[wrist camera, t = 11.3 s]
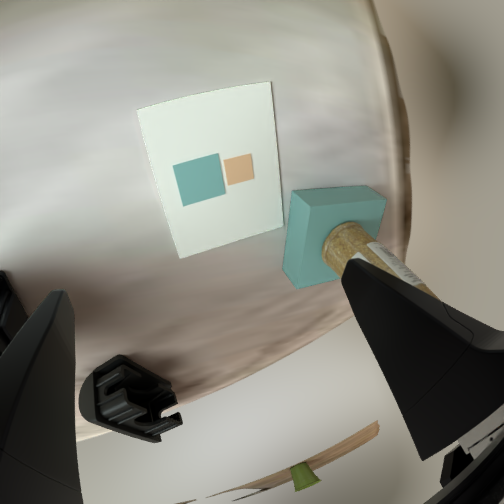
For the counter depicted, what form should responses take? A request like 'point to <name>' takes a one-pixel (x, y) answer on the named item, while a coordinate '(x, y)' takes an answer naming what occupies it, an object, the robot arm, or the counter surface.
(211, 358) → the counter surface
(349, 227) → the sprinkles bottle
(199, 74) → the counter surface
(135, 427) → the end cap
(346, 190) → the brick
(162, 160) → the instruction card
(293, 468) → the plant pot
